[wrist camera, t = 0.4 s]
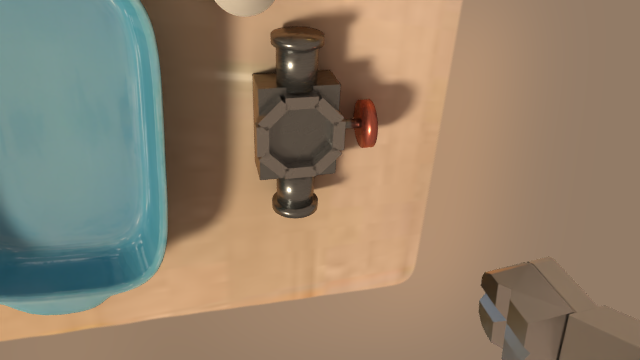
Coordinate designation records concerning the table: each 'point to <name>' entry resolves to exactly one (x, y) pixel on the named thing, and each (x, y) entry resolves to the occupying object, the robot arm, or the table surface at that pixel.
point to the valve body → (302, 121)
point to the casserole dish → (79, 153)
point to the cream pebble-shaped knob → (244, 6)
